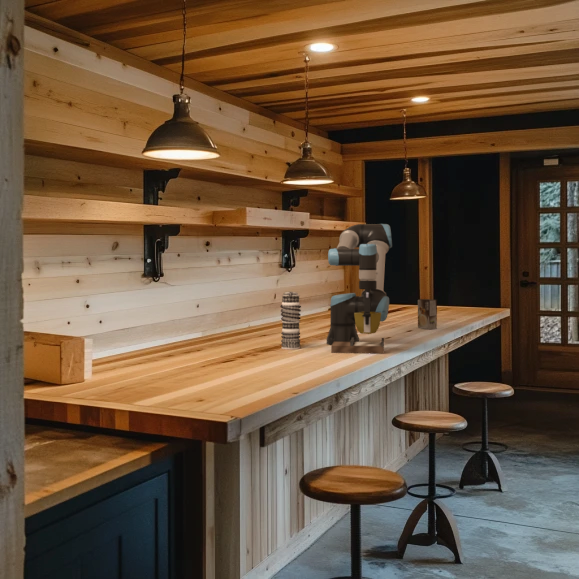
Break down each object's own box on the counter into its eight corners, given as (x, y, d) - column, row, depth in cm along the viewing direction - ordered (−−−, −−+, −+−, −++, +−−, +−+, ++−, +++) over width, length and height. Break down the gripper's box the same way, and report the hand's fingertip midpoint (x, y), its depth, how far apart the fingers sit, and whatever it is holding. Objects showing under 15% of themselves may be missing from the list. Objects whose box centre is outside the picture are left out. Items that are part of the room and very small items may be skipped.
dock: (331, 352, 314) (331, 341, 313) (333, 348, 328) (333, 337, 327) (383, 353, 311) (383, 341, 310) (383, 349, 325) (384, 337, 324)
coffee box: (437, 328, 406) (437, 299, 405) (429, 329, 402) (429, 300, 401) (424, 327, 413) (425, 298, 412) (417, 328, 409) (417, 299, 408)
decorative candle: (288, 350, 322) (288, 292, 320) (276, 347, 329) (276, 291, 328) (305, 348, 327) (305, 292, 326) (292, 346, 335) (292, 291, 333)
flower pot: (371, 335, 312) (371, 313, 311) (353, 333, 317) (353, 312, 317) (381, 333, 319) (381, 312, 318) (364, 331, 324) (364, 311, 324)
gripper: (376, 281, 305) (375, 333, 306) (377, 279, 328) (376, 328, 329) (357, 281, 306) (357, 333, 307) (360, 278, 329) (359, 327, 330)
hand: (367, 330), depth 318 cm, fingers closed on flower pot, 11 cm apart
